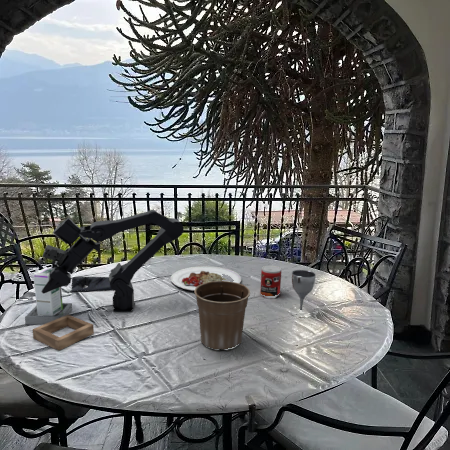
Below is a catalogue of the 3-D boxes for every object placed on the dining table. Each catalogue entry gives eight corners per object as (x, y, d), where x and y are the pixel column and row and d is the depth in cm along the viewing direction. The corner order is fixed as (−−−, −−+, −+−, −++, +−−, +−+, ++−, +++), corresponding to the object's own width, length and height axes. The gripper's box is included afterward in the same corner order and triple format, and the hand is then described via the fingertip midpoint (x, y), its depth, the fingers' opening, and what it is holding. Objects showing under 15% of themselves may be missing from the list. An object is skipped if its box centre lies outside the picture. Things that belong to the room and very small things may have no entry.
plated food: (253, 279, 171) (254, 271, 170) (215, 301, 146) (216, 293, 145) (198, 266, 186) (198, 259, 185) (155, 284, 161) (155, 276, 161)
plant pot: (229, 362, 105) (231, 306, 102) (182, 344, 114) (183, 292, 110) (257, 337, 119) (259, 288, 116) (213, 323, 127) (214, 277, 124)
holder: (72, 309, 134) (71, 303, 134) (61, 324, 124) (60, 317, 123) (39, 309, 134) (39, 302, 133) (25, 324, 123) (24, 317, 122)
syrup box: (52, 317, 125) (49, 274, 122) (36, 315, 126) (32, 272, 123) (63, 309, 131) (60, 268, 127) (47, 307, 132) (44, 267, 129)
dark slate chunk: (125, 293, 151) (125, 281, 150) (67, 293, 150) (66, 281, 149) (131, 279, 166) (131, 269, 165) (79, 279, 164) (78, 268, 163)
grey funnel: (314, 311, 139) (317, 271, 135) (309, 320, 132) (312, 278, 128) (292, 307, 142) (295, 268, 139) (286, 315, 135) (289, 274, 132)
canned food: (257, 296, 151) (259, 269, 148) (263, 290, 158) (264, 264, 155) (276, 300, 148) (278, 272, 145) (282, 293, 155) (283, 266, 153)
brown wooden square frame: (68, 323, 125) (67, 314, 124) (93, 333, 118) (93, 324, 118) (33, 338, 115) (32, 329, 114) (59, 350, 108) (58, 340, 108)
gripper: (59, 230, 133) (26, 264, 131) (56, 244, 116) (18, 283, 114) (84, 251, 137) (53, 283, 136) (85, 267, 120) (49, 305, 119)
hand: (43, 288), depth 126 cm, fingers closed on syrup box, 7 cm apart
